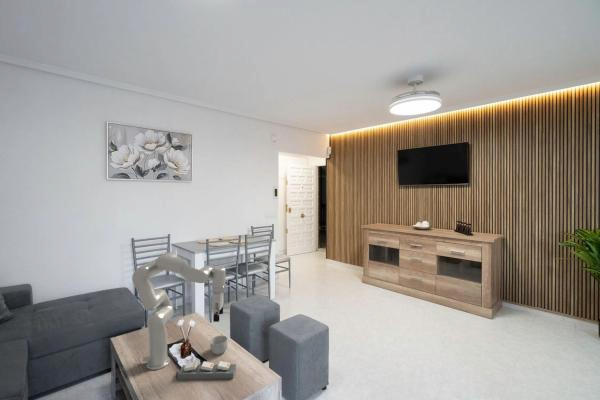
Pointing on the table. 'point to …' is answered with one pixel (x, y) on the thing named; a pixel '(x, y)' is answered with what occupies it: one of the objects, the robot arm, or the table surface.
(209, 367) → the rocker
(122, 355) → the table surface
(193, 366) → the rocker
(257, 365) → the table surface
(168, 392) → the table surface
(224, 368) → the rocker
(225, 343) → the teacup
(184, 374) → the grey rectangular tray
